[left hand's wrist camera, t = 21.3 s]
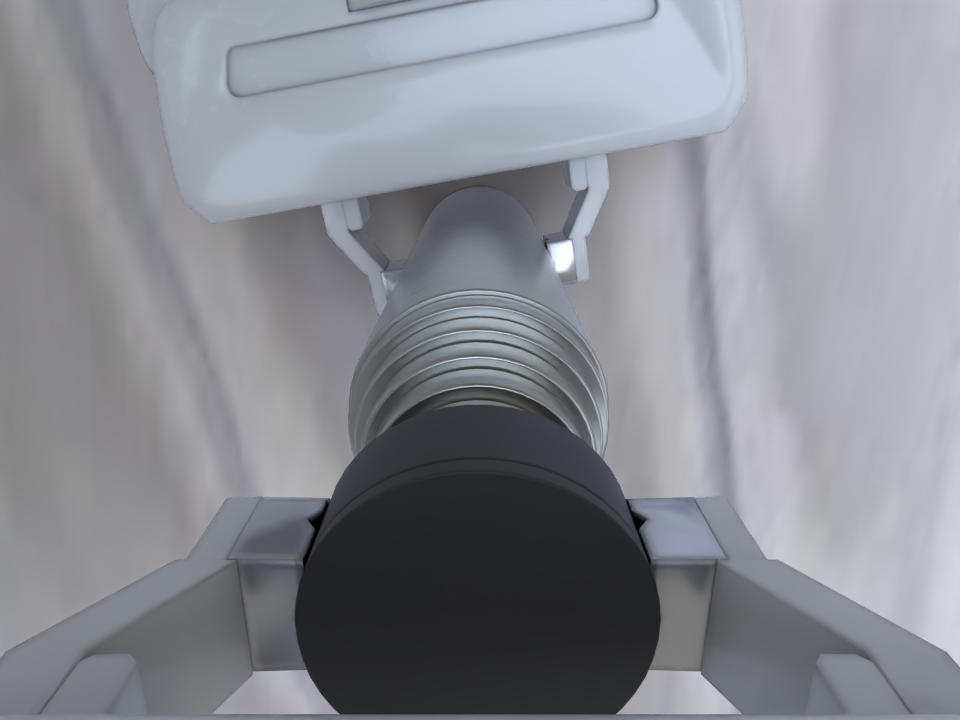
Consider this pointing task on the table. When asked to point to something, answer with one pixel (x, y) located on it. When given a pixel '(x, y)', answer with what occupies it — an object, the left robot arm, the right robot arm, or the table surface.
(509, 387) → the bottle
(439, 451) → the cap
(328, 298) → the table surface
